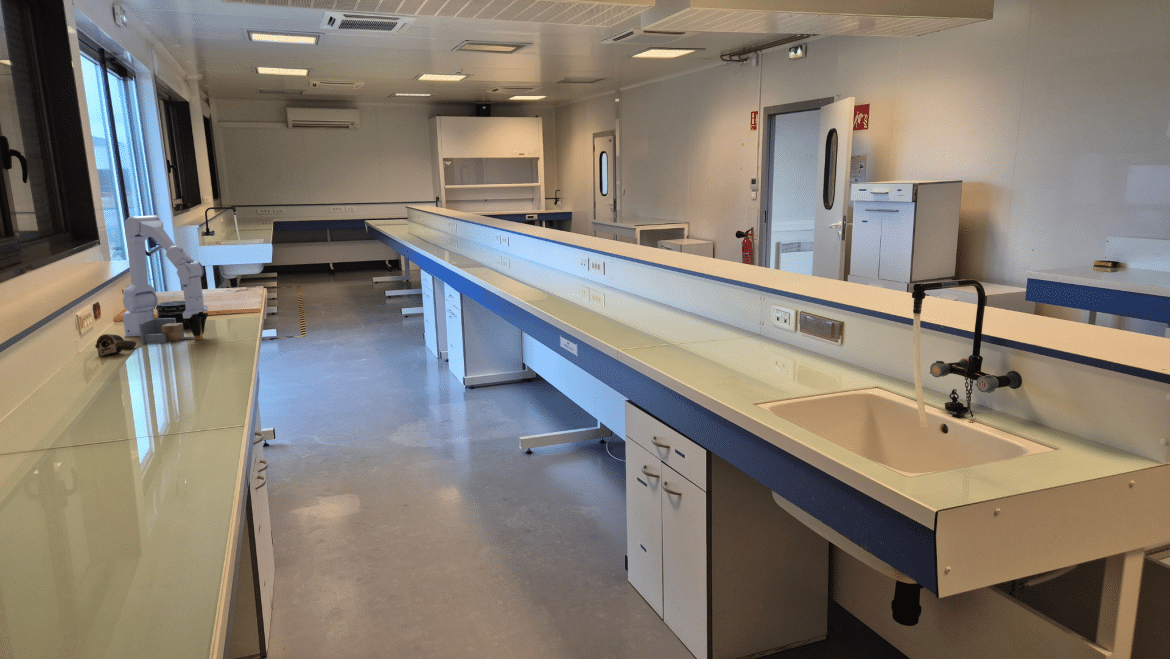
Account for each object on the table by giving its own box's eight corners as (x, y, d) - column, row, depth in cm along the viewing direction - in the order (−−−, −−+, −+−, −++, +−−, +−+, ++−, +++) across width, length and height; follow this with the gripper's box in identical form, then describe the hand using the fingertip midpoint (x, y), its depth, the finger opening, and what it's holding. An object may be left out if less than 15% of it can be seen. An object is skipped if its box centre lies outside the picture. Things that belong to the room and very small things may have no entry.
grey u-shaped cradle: (141, 343, 253) (139, 324, 252) (156, 337, 263) (153, 318, 261) (164, 343, 254) (161, 323, 252) (178, 337, 263) (175, 318, 262)
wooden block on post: (163, 341, 256) (160, 324, 255) (170, 338, 261) (168, 321, 259) (198, 340, 256) (196, 323, 255) (204, 337, 261) (202, 320, 260)
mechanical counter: (84, 339, 237) (101, 335, 232) (122, 328, 248) (139, 324, 243) (92, 360, 238) (110, 356, 233) (130, 348, 249) (147, 344, 244)
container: (203, 325, 285) (200, 299, 283) (182, 332, 272) (179, 305, 270) (172, 325, 286) (169, 300, 284) (150, 332, 273) (146, 305, 271)
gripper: (195, 299, 249) (200, 338, 252) (214, 293, 263) (219, 330, 266) (174, 300, 248) (179, 339, 251) (194, 293, 263) (199, 330, 265)
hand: (198, 334), depth 259 cm, fingers closed on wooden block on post, 2 cm apart
